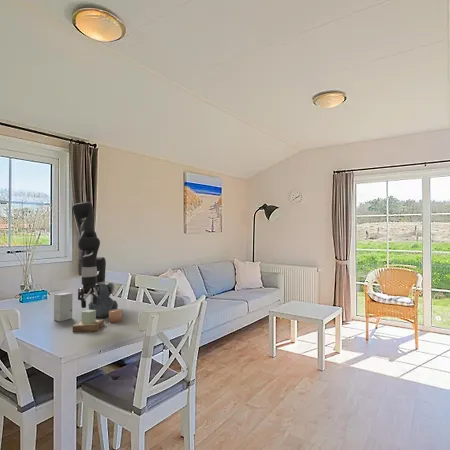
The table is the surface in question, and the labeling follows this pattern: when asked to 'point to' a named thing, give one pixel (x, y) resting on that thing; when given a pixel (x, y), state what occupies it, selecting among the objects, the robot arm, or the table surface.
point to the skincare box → (62, 306)
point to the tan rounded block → (115, 315)
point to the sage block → (88, 316)
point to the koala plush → (104, 301)
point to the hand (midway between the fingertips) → (89, 305)
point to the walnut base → (88, 326)
